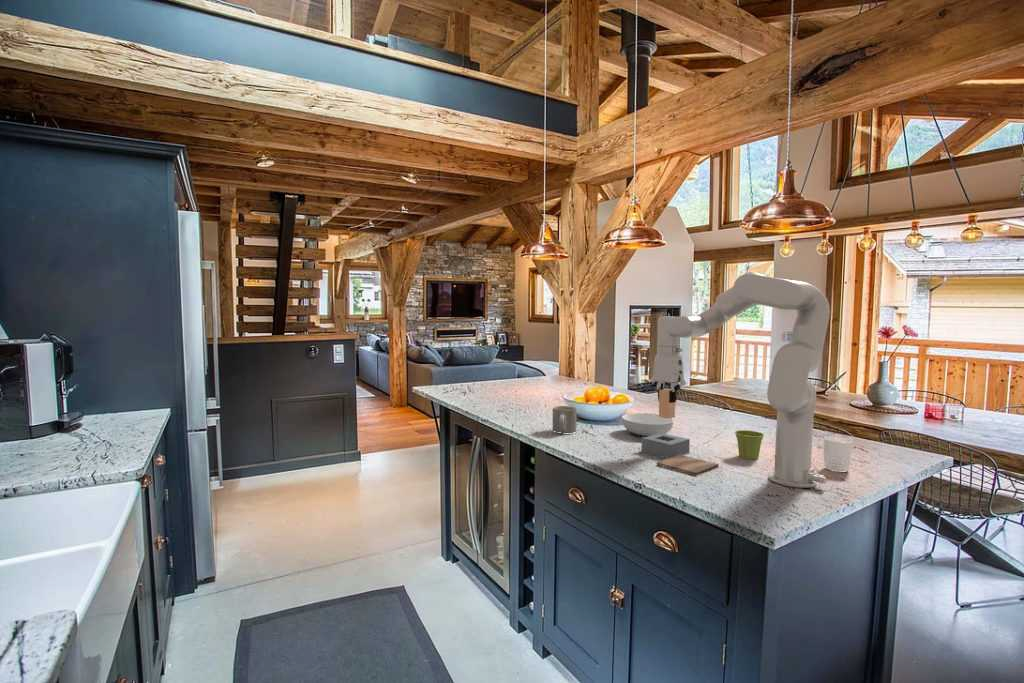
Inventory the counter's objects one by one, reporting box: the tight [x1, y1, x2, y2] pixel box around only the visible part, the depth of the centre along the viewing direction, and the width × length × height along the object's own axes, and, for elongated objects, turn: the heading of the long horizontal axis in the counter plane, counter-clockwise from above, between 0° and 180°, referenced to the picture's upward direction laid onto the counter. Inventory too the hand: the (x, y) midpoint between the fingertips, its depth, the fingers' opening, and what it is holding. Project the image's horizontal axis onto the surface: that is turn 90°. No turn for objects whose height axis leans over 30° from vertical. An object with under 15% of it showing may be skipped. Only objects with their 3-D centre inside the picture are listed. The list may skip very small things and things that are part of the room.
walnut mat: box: [656, 455, 719, 476], centre depth 166 cm, size 14×14×1 cm
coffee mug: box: [552, 405, 577, 433], centre depth 211 cm, size 13×10×10 cm
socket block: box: [641, 433, 691, 459], centre depth 182 cm, size 12×12×5 cm
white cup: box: [823, 435, 853, 471], centre depth 164 cm, size 8×8×10 cm
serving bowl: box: [621, 412, 675, 437], centre depth 209 cm, size 21×21×7 cm
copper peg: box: [658, 387, 676, 419], centre depth 181 cm, size 4×4×10 cm
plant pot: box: [734, 429, 765, 460], centre depth 177 cm, size 9×9×9 cm
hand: (667, 401), depth 181 cm, fingers closed on copper peg, 4 cm apart
